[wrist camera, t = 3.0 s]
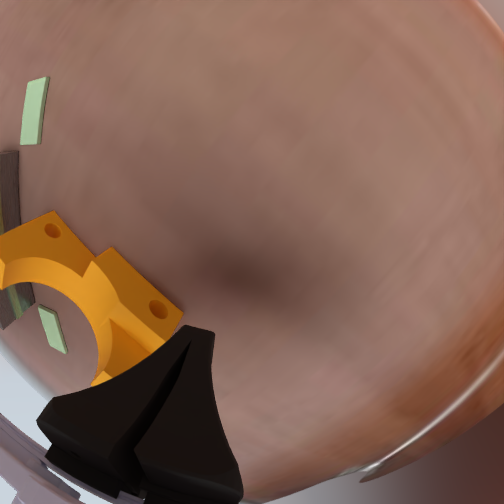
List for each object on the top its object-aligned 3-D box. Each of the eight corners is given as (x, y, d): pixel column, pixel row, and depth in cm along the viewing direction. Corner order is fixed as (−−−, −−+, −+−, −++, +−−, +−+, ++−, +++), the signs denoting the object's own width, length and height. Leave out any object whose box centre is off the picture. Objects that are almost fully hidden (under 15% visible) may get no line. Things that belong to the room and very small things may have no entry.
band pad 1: (23, 144, 14) (20, 144, 14) (31, 82, 12) (28, 82, 12) (40, 143, 14) (36, 144, 13) (49, 77, 12) (46, 76, 11)
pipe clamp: (184, 311, 17) (146, 383, 12) (152, 341, 19) (115, 404, 13) (63, 191, 15) (-7, 219, 9) (45, 234, 17) (-14, 268, 11)
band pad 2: (52, 343, 21) (50, 345, 21) (40, 304, 19) (37, 306, 19) (67, 351, 21) (65, 354, 21) (56, 312, 19) (53, 314, 19)
